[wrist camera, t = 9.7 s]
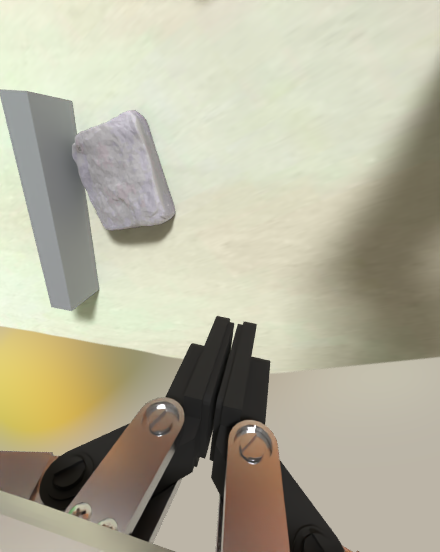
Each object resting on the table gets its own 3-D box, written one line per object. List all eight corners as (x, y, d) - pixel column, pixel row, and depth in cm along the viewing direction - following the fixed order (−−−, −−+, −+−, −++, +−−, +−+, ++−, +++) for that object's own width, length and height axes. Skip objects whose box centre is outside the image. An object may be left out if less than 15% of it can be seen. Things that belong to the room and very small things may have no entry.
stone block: (126, 229, 38) (185, 216, 33) (99, 239, 34) (162, 226, 29) (90, 137, 34) (151, 107, 29) (56, 136, 30) (120, 102, 25)
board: (48, 99, 30) (-2, 89, 25) (72, 100, 30) (26, 91, 25) (81, 286, 41) (51, 307, 36) (99, 289, 41) (71, 310, 35)
